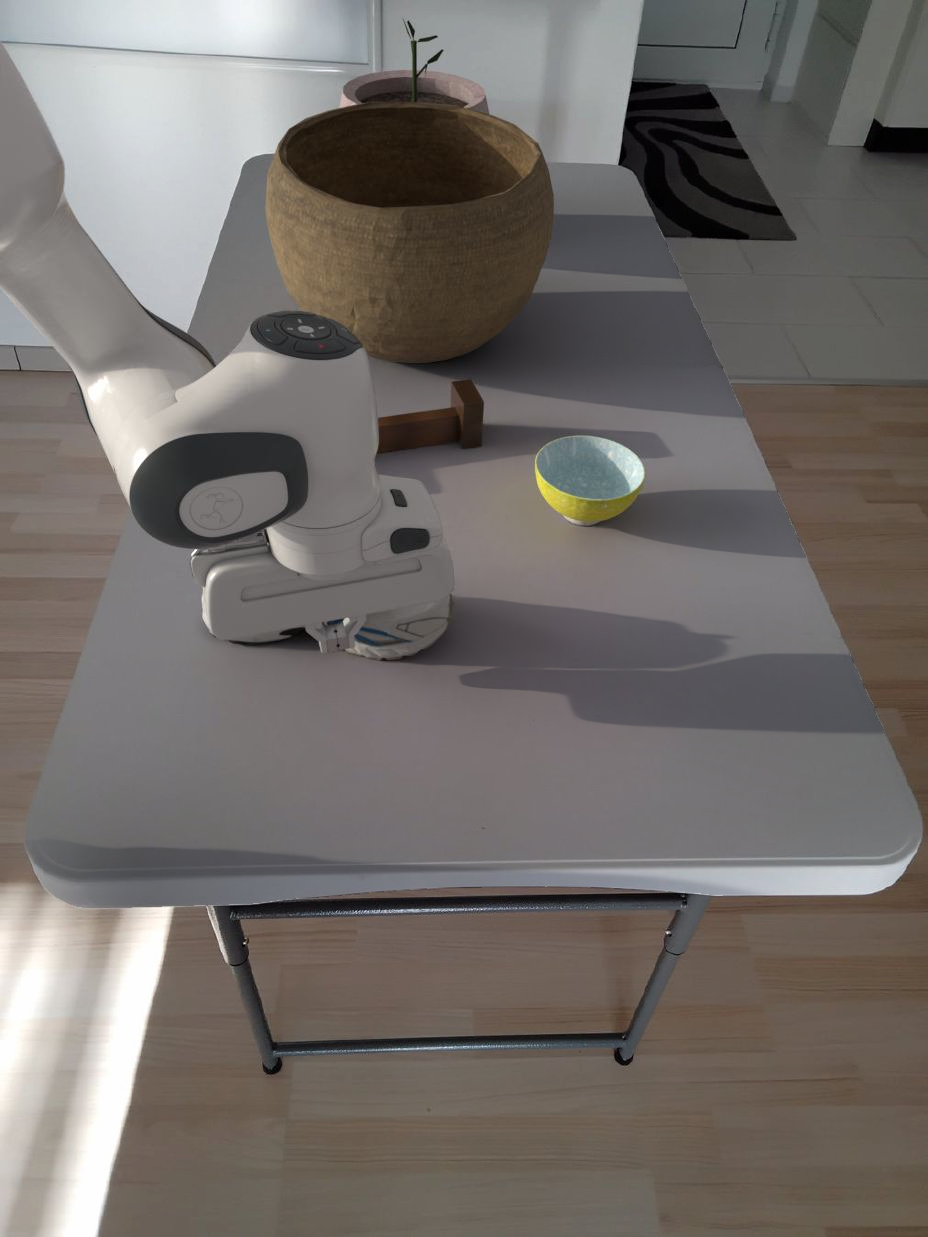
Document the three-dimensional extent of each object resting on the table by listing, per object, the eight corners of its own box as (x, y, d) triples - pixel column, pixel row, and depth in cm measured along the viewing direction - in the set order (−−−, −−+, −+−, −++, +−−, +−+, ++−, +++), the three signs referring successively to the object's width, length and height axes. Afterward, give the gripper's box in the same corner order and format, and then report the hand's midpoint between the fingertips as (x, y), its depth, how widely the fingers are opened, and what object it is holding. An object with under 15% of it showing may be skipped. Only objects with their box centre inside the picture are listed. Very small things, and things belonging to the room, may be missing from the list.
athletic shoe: (456, 662, 83) (455, 543, 77) (196, 674, 81) (174, 554, 75) (449, 606, 91) (448, 495, 85) (214, 615, 90) (195, 503, 84)
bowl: (609, 473, 104) (617, 427, 100) (653, 537, 97) (664, 489, 92) (515, 489, 102) (519, 442, 97) (553, 555, 94) (559, 508, 90)
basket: (530, 280, 139) (557, 102, 120) (534, 423, 116) (569, 231, 97) (295, 256, 137) (286, 72, 119) (252, 396, 114) (232, 196, 95)
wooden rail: (216, 485, 100) (207, 439, 96) (211, 459, 104) (202, 413, 99) (481, 446, 107) (484, 401, 103) (468, 423, 111) (470, 378, 106)
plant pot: (484, 270, 140) (495, 44, 119) (328, 260, 141) (311, 34, 119) (492, 208, 157) (504, 1, 136) (353, 199, 158) (342, -8, 136)
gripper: (188, 571, 66) (218, 696, 76) (462, 526, 70) (458, 649, 80) (181, 517, 70) (211, 642, 80) (440, 477, 74) (438, 600, 84)
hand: (336, 645), depth 80 cm, fingers closed
